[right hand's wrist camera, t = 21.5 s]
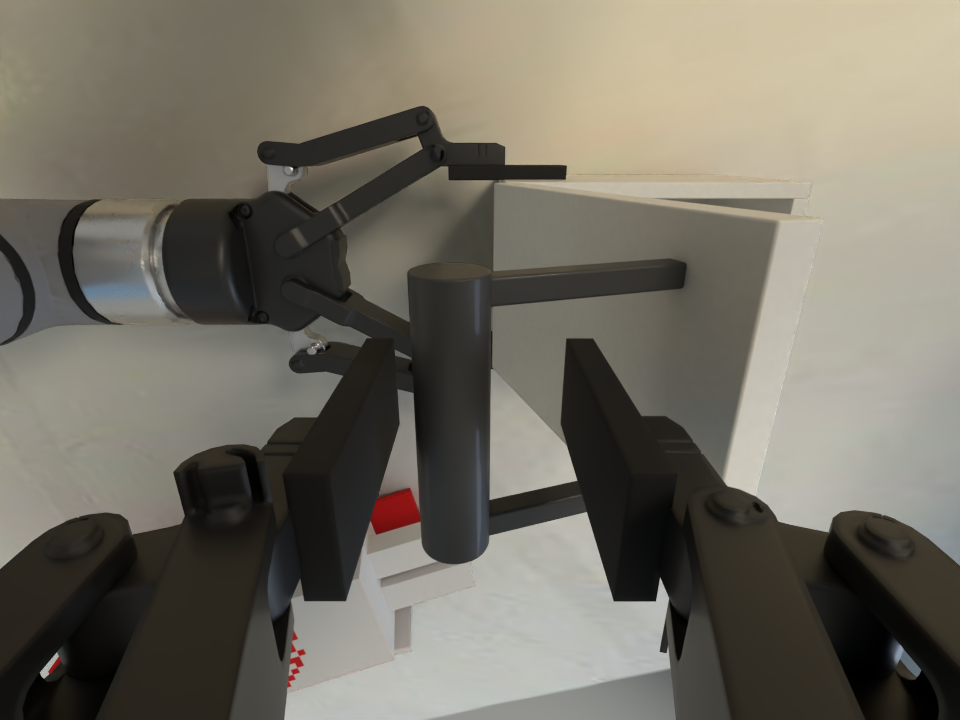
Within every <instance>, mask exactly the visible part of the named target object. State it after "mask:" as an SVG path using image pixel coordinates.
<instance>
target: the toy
mask: <svg viewBox="0 0 960 720" xmlns="http://www.w3.org/2000/svg"><path fill="white" fill-rule="evenodd" d="M473 586H476V584H475V578H474V573H473V567H472V564H471V561H470V562H467V563H463V564H445V563H441V562H438V561H436V560H434V559H432V558H431V557H429V556H428V555H427V554H426V552H425V551H424V549H423V547H422V542H421V523H420V513H419V510H418V508H417V505H416V503H415V500H414V497H413V495H412V492H411V489H410V488H409V489H406V490H403V491H400V492H397V493H394V494H391V495H388V496H385V497H382V498H379V499H377V500H376V504H375V507H374V510H373V514H372V517H371V520H370V523H369V527H368V530H367V533H366V537H365V540H364V543H363V547H362V550H361V553H360V557H359V560H358V563H357V567H356V570H355V573H354V577H353V580H352V583H351V587H350V590H349V593H348V596H347V600H346V601H304V597H303V592H302V586H301V580H299V582H298V585H297V587H296V589H295V592H294V594H293V596H292V599H291V603H292V608H293V614H294V629H293V639H292V648H291V658H290V668H289V677H288V687H287V693H289V692H292V691H295V690H299V689H302V688H305V687H308V686H311V685H315V684H318V683H321V682H324V681H328V680H331V679H334V678H337V677H341V676H344V675H347V674H350V673H353V672H357V671H360V670H363V669H366V668H370V667H373V666H376V665H379V664H382V663H386V662H389V661H392V660H394V655H398V654H402V653H407V652H411V651H412V607H411V605H414V604H417V603H421V602H424V601H427V600H431V599H434V598H437V597H440V596H444V595H447V594H450V593H454V592H457V591H460V590H463V589H467V588H470V587H473ZM408 606H410V607H408ZM404 607H405V608H404ZM60 662H61V659H60V657H58V659H57V660H56V662H55V663H54V664H53V666H52V667H51V668H50V670H49V671H48V672H49V674H50V673H51V672H53V670H54V669H55V668H56V667H57V666H58V664H59V663H60Z"/></svg>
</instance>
